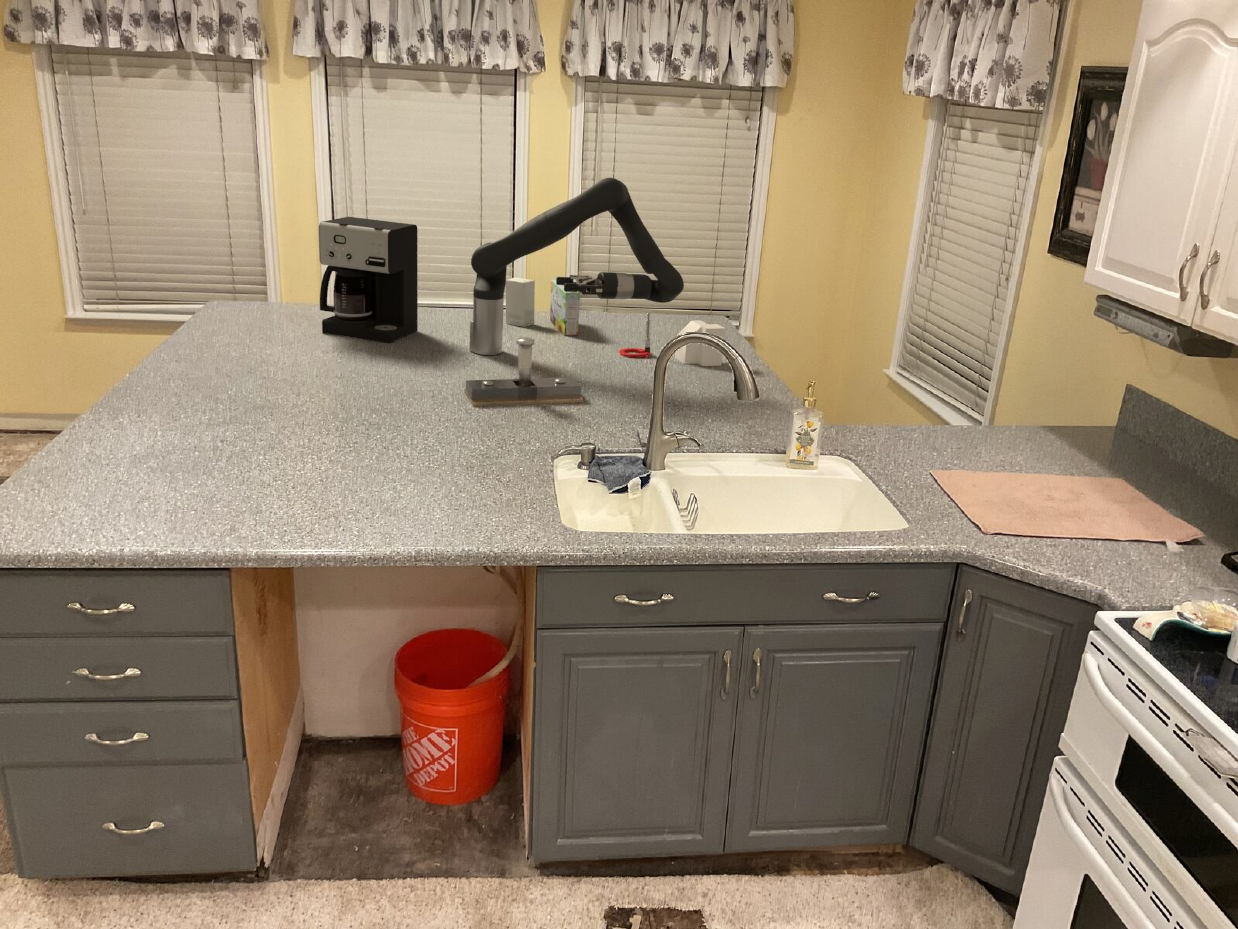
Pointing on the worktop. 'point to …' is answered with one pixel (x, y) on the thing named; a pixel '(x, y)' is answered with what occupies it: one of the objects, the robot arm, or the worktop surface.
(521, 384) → the steel pin
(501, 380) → the pin socket base plate
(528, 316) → the skincare box
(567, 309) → the snack box
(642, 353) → the tow hook
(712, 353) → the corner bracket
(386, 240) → the coffee maker
